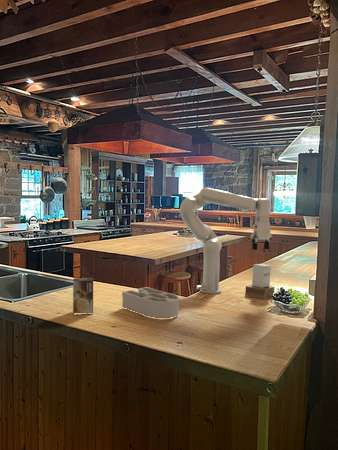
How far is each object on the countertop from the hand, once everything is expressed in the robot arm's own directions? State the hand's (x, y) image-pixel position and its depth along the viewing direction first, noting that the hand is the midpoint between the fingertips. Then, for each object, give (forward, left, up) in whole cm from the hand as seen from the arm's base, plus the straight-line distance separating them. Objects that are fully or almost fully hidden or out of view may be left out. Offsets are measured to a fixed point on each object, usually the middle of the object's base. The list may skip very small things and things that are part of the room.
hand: (260, 249), depth 214 cm
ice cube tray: (-70, +1, -28) cm, 76 cm away
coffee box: (-101, +15, -28) cm, 106 cm away
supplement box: (+2, 0, -22) cm, 22 cm away
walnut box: (+1, 0, -28) cm, 28 cm away
